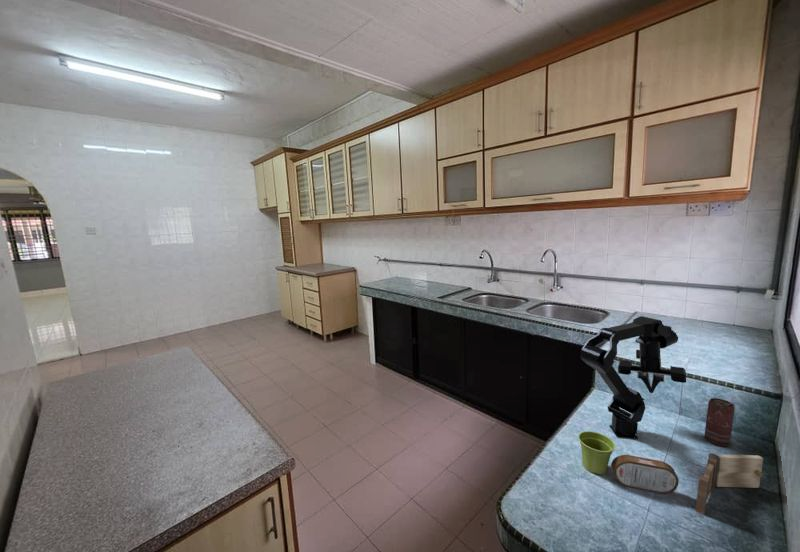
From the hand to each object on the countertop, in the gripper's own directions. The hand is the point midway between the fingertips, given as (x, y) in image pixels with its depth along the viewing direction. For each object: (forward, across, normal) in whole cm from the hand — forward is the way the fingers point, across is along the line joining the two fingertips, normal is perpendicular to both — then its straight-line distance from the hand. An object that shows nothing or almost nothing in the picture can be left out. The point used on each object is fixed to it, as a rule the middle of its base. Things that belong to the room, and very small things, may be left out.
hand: (651, 392), depth 116 cm
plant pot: (+6, +13, +38) cm, 40 cm away
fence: (+9, -12, +34) cm, 37 cm away
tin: (+7, +1, +38) cm, 39 cm away
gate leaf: (+10, -18, +24) cm, 32 cm away
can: (+14, -17, 0) cm, 22 cm away
